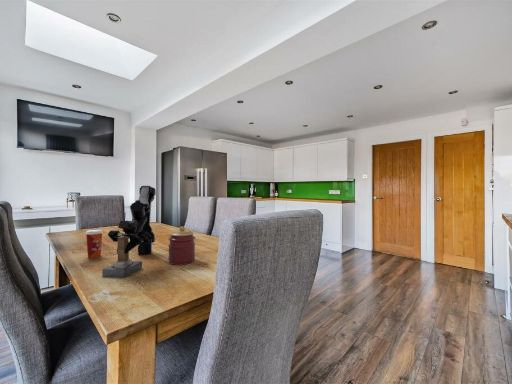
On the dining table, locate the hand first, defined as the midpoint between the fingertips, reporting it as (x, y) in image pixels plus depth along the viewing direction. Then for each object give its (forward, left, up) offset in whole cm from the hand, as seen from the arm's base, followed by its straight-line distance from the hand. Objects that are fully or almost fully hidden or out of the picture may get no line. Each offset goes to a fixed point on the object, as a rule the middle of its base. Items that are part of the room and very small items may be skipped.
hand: (121, 253), depth 103 cm
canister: (-25, -11, -9) cm, 29 cm away
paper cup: (+20, -31, -9) cm, 38 cm away
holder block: (-1, -1, -9) cm, 9 cm away
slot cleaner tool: (-1, -1, -7) cm, 7 cm away
